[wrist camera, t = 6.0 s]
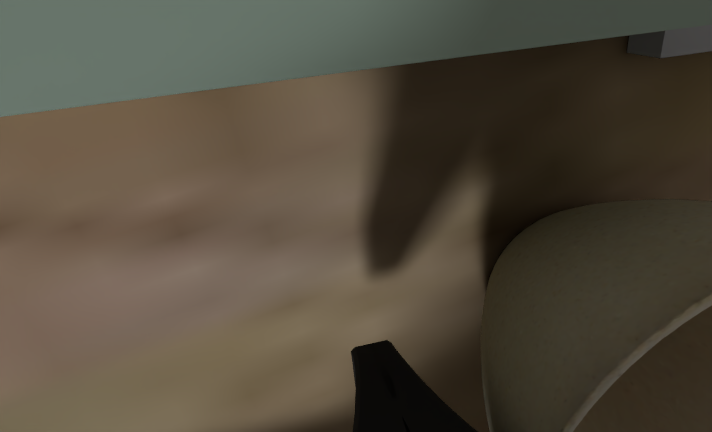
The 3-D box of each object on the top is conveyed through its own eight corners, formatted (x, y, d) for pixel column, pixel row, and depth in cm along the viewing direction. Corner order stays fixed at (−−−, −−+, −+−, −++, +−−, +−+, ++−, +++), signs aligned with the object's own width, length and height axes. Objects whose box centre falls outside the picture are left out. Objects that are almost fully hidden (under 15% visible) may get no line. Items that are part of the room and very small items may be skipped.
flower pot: (720, 104, 15) (1089, 194, 8) (661, 358, 19) (871, 543, 13) (402, 159, 13) (550, 317, 7) (417, 419, 18) (517, 662, 11)
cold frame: (554, 468, 21) (639, 600, 16) (-25, 623, 17) (-118, 842, 13) (627, -69, 12) (855, -103, 7) (-513, 39, 9) (-1315, 95, 4)
